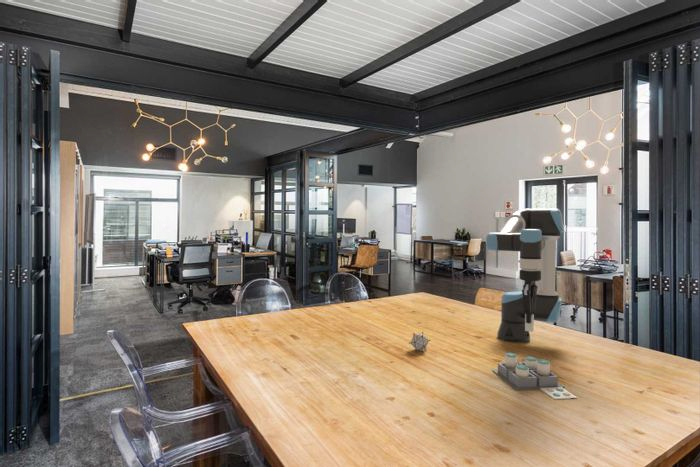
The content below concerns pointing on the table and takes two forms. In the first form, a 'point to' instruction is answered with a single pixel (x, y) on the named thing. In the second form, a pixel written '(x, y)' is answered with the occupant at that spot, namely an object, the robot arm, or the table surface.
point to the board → (526, 378)
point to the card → (558, 393)
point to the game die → (419, 341)
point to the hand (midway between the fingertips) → (529, 330)
